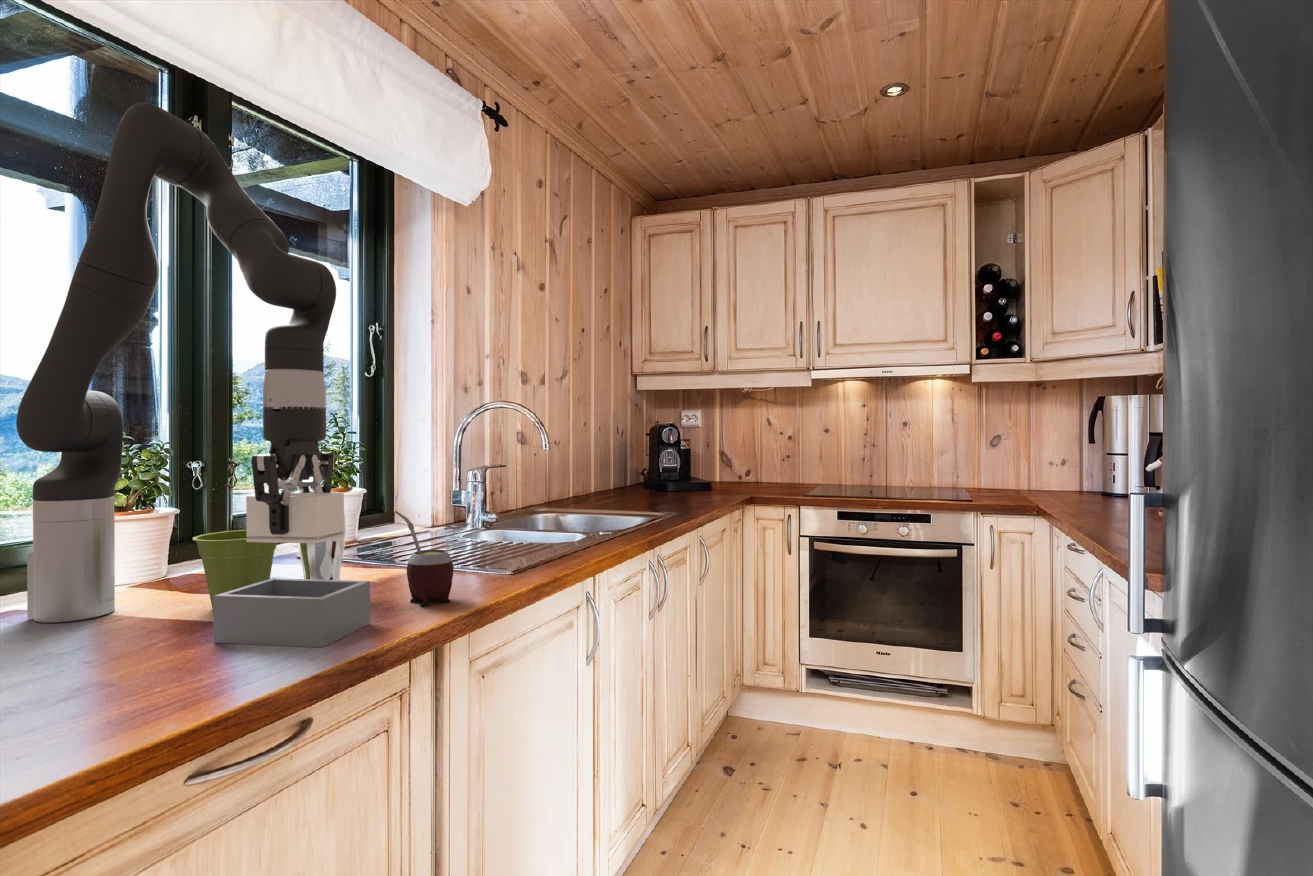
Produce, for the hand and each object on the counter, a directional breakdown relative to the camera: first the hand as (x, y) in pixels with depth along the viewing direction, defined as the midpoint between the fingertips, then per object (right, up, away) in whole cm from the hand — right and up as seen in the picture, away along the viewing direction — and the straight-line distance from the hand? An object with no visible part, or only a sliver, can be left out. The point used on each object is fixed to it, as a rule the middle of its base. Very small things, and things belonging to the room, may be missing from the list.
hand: (295, 530), depth 94 cm
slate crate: (0, -14, 0) cm, 14 cm away
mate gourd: (+12, -14, +16) cm, 25 cm away
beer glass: (-6, -14, +19) cm, 24 cm away
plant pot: (-16, -14, +14) cm, 26 cm away
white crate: (0, -1, 0) cm, 1 cm away
